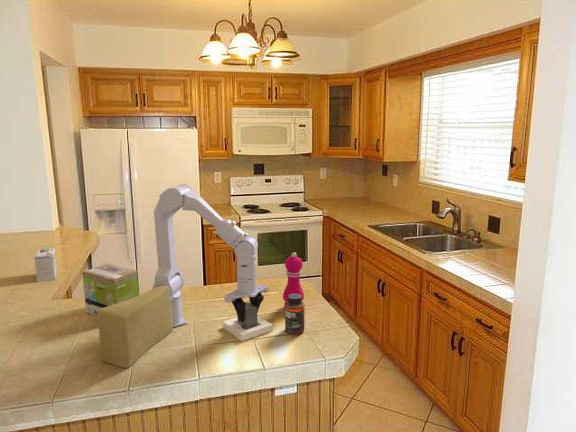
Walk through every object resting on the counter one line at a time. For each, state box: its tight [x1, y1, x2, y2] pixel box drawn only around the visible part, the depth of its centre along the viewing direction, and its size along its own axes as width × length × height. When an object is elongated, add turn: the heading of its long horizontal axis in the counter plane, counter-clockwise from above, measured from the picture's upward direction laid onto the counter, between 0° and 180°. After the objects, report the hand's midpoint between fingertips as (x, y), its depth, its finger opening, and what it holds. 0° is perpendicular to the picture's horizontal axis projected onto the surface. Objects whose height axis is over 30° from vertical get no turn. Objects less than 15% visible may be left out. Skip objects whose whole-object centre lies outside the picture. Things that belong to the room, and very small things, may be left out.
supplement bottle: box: [284, 294, 306, 335], centre depth 129 cm, size 6×6×11 cm
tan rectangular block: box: [97, 286, 174, 369], centre depth 118 cm, size 22×10×15 cm, turn 154°
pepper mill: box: [282, 251, 305, 309], centre depth 144 cm, size 7×7×20 cm
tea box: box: [81, 263, 140, 316], centre depth 140 cm, size 15×10×15 cm
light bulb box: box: [33, 247, 58, 283], centre depth 173 cm, size 11×7×11 cm, turn 25°
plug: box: [237, 301, 258, 329], centre depth 130 cm, size 4×5×6 cm
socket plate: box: [222, 314, 274, 342], centre depth 130 cm, size 11×11×2 cm
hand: (247, 318), depth 130 cm, fingers closed on plug, 4 cm apart
